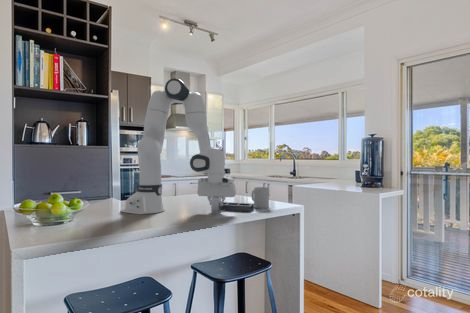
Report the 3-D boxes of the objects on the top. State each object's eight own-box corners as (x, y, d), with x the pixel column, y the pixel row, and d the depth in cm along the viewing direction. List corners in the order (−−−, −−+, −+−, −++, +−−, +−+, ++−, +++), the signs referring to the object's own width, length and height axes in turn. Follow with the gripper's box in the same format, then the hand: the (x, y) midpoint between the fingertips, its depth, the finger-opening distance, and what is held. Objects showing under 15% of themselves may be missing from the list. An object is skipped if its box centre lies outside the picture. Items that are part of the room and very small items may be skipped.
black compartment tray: (212, 209, 162) (212, 204, 162) (217, 206, 170) (217, 201, 170) (249, 212, 155) (250, 206, 155) (253, 209, 164) (253, 203, 164)
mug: (272, 207, 169) (272, 188, 169) (261, 209, 163) (261, 189, 163) (257, 204, 178) (257, 186, 178) (246, 206, 172) (246, 187, 172)
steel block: (211, 212, 153) (211, 197, 153) (214, 211, 157) (214, 196, 157) (218, 213, 152) (218, 197, 152) (221, 211, 156) (221, 196, 156)
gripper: (195, 178, 155) (195, 205, 155) (233, 179, 149) (233, 207, 149) (200, 177, 161) (200, 203, 161) (236, 178, 155) (236, 205, 155)
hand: (216, 205), depth 155 cm, fingers closed on steel block, 4 cm apart
